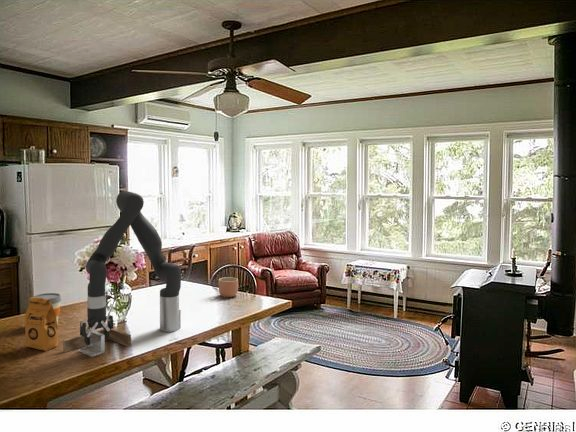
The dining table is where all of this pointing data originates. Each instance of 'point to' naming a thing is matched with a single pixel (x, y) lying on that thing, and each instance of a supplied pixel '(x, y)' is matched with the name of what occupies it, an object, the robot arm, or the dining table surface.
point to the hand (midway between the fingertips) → (97, 342)
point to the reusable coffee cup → (52, 301)
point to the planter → (228, 286)
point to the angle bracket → (95, 345)
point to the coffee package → (41, 325)
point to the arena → (113, 333)
